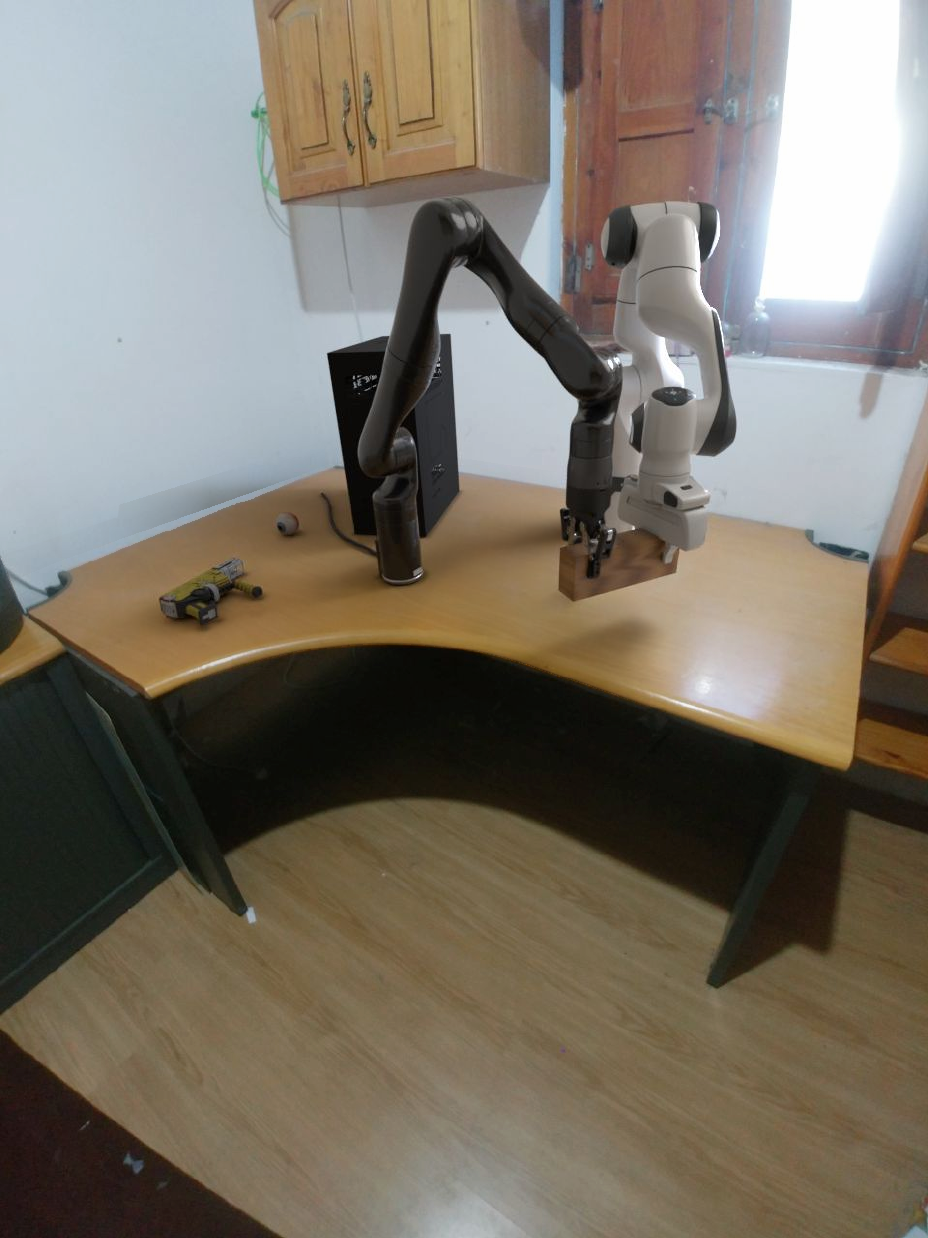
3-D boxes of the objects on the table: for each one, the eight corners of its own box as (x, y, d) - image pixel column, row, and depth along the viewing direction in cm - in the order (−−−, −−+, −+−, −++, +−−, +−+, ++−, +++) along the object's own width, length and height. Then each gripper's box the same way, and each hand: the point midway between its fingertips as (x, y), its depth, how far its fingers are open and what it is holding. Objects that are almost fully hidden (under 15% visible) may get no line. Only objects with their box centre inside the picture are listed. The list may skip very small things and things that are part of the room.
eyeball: (273, 537, 164) (268, 516, 161) (287, 528, 169) (282, 508, 166) (291, 539, 161) (286, 518, 158) (305, 530, 166) (301, 510, 163)
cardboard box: (426, 536, 158) (409, 350, 136) (354, 533, 163) (326, 352, 140) (459, 490, 190) (450, 333, 167) (398, 489, 194) (381, 336, 172)
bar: (658, 563, 120) (663, 522, 116) (676, 572, 116) (682, 530, 112) (558, 590, 112) (559, 547, 108) (573, 601, 108) (575, 557, 104)
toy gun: (284, 566, 139) (229, 555, 143) (214, 612, 119) (152, 597, 123) (286, 584, 141) (232, 573, 145) (217, 632, 121) (157, 617, 125)
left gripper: (547, 473, 105) (545, 561, 114) (595, 495, 94) (589, 592, 102) (583, 466, 108) (578, 553, 116) (634, 487, 96) (625, 582, 105)
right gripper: (612, 473, 115) (607, 540, 122) (688, 504, 99) (678, 579, 106) (639, 468, 117) (632, 534, 124) (718, 497, 101) (705, 571, 108)
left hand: (584, 571), depth 109 cm, fingers closed on bar, 5 cm apart
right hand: (654, 555), depth 115 cm, fingers closed on bar, 5 cm apart
